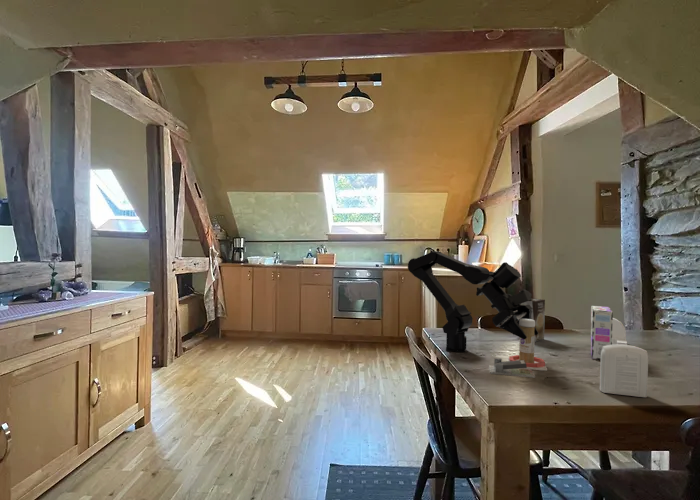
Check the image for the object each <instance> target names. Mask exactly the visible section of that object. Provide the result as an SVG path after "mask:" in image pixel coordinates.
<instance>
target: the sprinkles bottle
mask: <svg viewBox="0 0 700 500" xmlns="http://www.w3.org/2000/svg"><path fill="white" fill-rule="evenodd" d="M519 326H520V327H521V329H522V330H523V332H524V333H525V335H526V336H527V338H526V339H525V340H524V339H522V338H520V339H519V345H518V346H519V347H518V350H519V352H518V353H519V354H518V355H519V360H525V363H534V357H535V342H534V340H535V336H534V328H535V320H532V319H520V321H519Z"/></svg>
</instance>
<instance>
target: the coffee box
mask: <svg viewBox="0 0 700 500" xmlns="http://www.w3.org/2000/svg"><path fill="white" fill-rule="evenodd" d="M524 304H528V305H530V306H531V307H532V308H533V310H532V311H533V312H532V315H531V318H532V320H535V327H536V329H537V331H538V334H537V335H534V336H535V340H534V343H535V342H538V341H541V340H545V318H546V317H545V314H546V313H545V312H546V306H545V305H546V300H545V299H544V298H543V299H541V298H532V301H527V302H524V303H521V305H524ZM518 339H519V340H520V337H518Z"/></svg>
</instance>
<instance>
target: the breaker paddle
mask: <svg viewBox="0 0 700 500" xmlns="http://www.w3.org/2000/svg"><path fill="white" fill-rule="evenodd" d="M499 363H500V364H503V370H504V369H518V368H527V366H526V363H525V360H518V361H509V360H508V361H507V360H506V361H501V362H499Z"/></svg>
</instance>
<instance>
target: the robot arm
mask: <svg viewBox="0 0 700 500" xmlns="http://www.w3.org/2000/svg"><path fill="white" fill-rule="evenodd" d="M435 265H438V266H441V267H444V268H446V269H449V270H450V271H452V272H454V273H457V274H458V275H460V276H461V277H462V278H463V279H465V281H467V282H469V283H470V284H471V285H482V286H481V287H479V286H478V287H476V294H475V295H476V297H478V296H483V295H484V296H485V298H486V299H487V300H488V301H489V302H490V304H491V305H490V307H491V308H492V309H496V311H497V313H496V314H495V315H494V316H493V317H492V319H491V320H492V323H493V325H494V326H495V327H498V328H500V329H501V330H505V331H507V332H508V333H511V334H513V336H516V337H518V338H519V337H520V338H522V339H524V340H525V339H526V338H527V336H526V335H525V333H524V332H523V330H522V329H521V327H520V325H519V321H520V319H532V318H531V315H532V312H533V311H532V310H533V308H532V307H531V306H530V305H528V304H524V305H521V303H524V302H527V301H532V299H533V298H532V295H533V294H532V293H531V292H530V291H529V290H526V289H522V290H519V292H518V293H516V294H513V295H512V294H510V293H506V291H504V288H505V289H509V288H510V287H511V286H512V285H513V284H514V283H516V282H517V281H518V280H519V279H520V278H521V277H522V274H521V273H520V271H519V270H518V269H517V268H515V267H514V266H513V265H510V264H509V263H507V262H503V263H501V264H500V266H499V267H498V268H497V269H496V270H495V271H490V270H489V268H487V267H484V266H481V265H474V264H468V263H466V262H463V261H461V260H459V259H457V258H454V257H452V256H450V255H447V254H445V253H442V252H441V251H438V250H436V251H435V250H433V251H430V252H428V253H426V254H424V255H421V256H419V257H417V258H414V257H413V258H411V259H409V261H408V263H407V270H408V272H410V274H412V276H414V278H416V279H418V280H420V281H421V282H423V284H424V285H425V287H426V288H427V289H428V291H429V292H430V293H431V294H432V296H433V298H435V300H436V301H437V303H439V305H440V306H441V308H442V309H443V311H444V313H445V318H446V321H447V322H446V323H445V324H444V325H443V326H442V332H443V334H446V338H445V339H446V344H445V345H446V347H445V351H447V352H458V353H459V352H460V353H466V350H467V338H468V337H467V336H465V335H466V333H467V332H468V331H469V328H470V327H471V326H472V324H473V320H474V318H473V316H472V312H471V311H469V310H468V307H466V305H465V304H460V305H459V304H457V303H456V302H455V301H454V299H453V298H452V297H451V296H450V294H449V293H448V291H447V290H446V289H445V287H444V286H443V285H442V284H441V283H440V282H439V279H438V278H436V277H435V275H434V272H433V267H434V266H435ZM537 334H538V331H537V329H536V327H535V328H534V335H537Z"/></svg>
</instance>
